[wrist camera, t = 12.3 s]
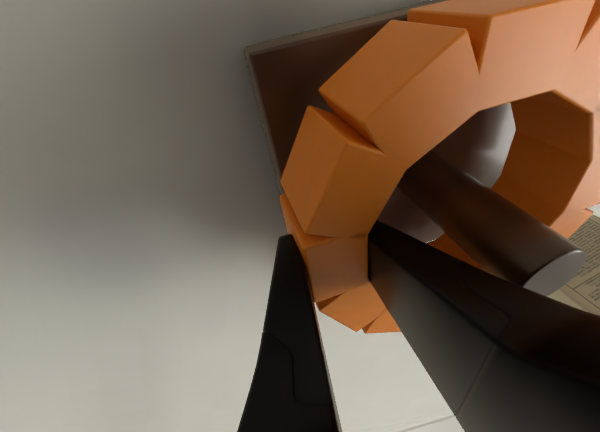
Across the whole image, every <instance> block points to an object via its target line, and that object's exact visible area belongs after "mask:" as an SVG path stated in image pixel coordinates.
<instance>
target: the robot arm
mask: <svg viewBox="0 0 600 432" xmlns="http://www.w3.org/2000/svg"><path fill="white" fill-rule="evenodd" d="M368 278H369V280H370V283H371V284H372V286H373V287H374V289H375V291H376V292H377V294H378V295H379V297H380V298H381V300H382V302H383V303H384V305H385V306H386V308H387V309H388V311H389V313H390V314H391V316H392V317H393V319H394V320H395V322H396V324H397V325H398V327H399V328H400V330H401V332H402V333H403V335H404V336H405V338H406V339H407V341H408V343H409V344H410V346H411V347H412V349H413V350H414V352H415V354H416V355H417V357H418V358H419V360H420V361H421V363H422V365H423V366H424V368H425V369H426V371H427V372H428V374H429V376H430V377H431V379H432V380H433V382H434V383H435V385H436V387H437V388H438V390H439V391H440V393H441V394H442V396H443V398H444V399H445V401H446V402H447V404H448V405H449V407H450V409H451V410H452V412H453V413H454V415H455V416H456V418H457V420H458V421H459V423H460V425H461V426H462V428H463V429H464V431H465V432H600V315H596V314H593V313H590V312H586V311H583V310H580V309H578V308H575V307H572V306H570V305H567V304H565V303H562V302H560V301H557V300H554V299H552V298H549V297H547V296H544V295H542V294H539V293H536V292H534V291H531V290H529V289H526V288H524V287H521V286H518V285H516V284H514V283H511V282H509V281H506V280H504V279H501V278H499V277H497V276H494V275H492V274H490V273H488V272H485V271H483V270H481V269H479V268H477V267H474V266H472V265H470V264H468V263H466V262H464V261H460V260H459V259H458V258H455V257H453V256H451V255H449V254H447V253H445V252H443V251H441V250H439V249H437V248H435V247H433V246H431V245H428V244H426V243H424V242H422V241H420V240H418V239H416V238H414V237H412V236H410V235H408V234H406V233H403V232H401V231H399V230H397V229H395V228H393V227H391V226H389V225H387V224H385V223H383V222H381V221H378V220H376V222H375V223H374V225H373V227H372V229H371V230H370V232H369V234H368ZM263 331H264V332H263V333H262V339H261V345H260V350H259V355H258V360H257V364H256V368H255V372H254V376H253V380H252V383H251V387H250V391H249V394H248V397H247V401H246V404H245V407H244V411H243V414H242V418H241V421H240V424H239V428H238V431H237V432H342V429H341V424H340V420H339V415H338V411H337V406H336V402H335V397H334V393H333V388H332V383H331V379H330V374H329V370H328V365H327V361H326V356H325V352H324V347H323V343H322V338H321V333H320V329H319V324H318V320H317V315H316V311H315V306H314V302H313V298H312V294H311V289H310V285H309V281H308V277H307V273H306V268H305V264H304V261H303V258H302V255H301V253H300V251H299V249H298V247H297V244H296V242H295V240H294V238H293V236H292V234H287V235H284V236H281V237H279V239H278V245H277V251H276V257H275V263H274V269H273V275H272V281H271V287H270V292H269V298H268V304H267V310H266V316H265V322H264V328H263Z"/></svg>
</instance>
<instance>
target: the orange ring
mask: <svg viewBox="0 0 600 432" xmlns="http://www.w3.org/2000/svg"><path fill="white" fill-rule="evenodd" d="M318 90H319V93H320V94H321V96H322V97H323V98H324V100H325V101H326V102H327V104H328V105H329V107H330V108H331V109H332V111H333V112H334V113H332V112H329V111H326V110H323V109H320V108H317V107H314V106H311V105H310V106H308V107H307V109H306V112H305V114H304V117H303V120H302V123H301V125H300V128H299V131H298V134H297V136H296V139H295V142H294V145H293V147H292V150H291V153H290V156H289V158H288V161H287V164H286V167H285V169H284V172H283V175H282V178H281V180H280V182H281V185H282V187H283V189H284V191H285V193H283V194H281V195H280V197H279V198H280V202H281V207H282V211H283V215H284V219H285V223H286V228H287V232H288V234H292V236H293V238H294V240H295V242H296V244H297V247H298V249H299V251H300V253H301V255H302V258H303V261H304V264H305V268H306V273H307V277H308V281H309V285H310V289H311V294H312V298H313V302H314V303H316V304H317V307H318V309H319V311H320V312H322V313H324V314H326V315H327V316H329V317H331V318H333V319H335V320H336V321H338V322H340V323H342V324H343V325H345V326H347V327H349V328H351V329H352V330H354V331H356V332H357V331H359V330H360V329H363V331H364V333H383V332H401V330H400V328H399V327H398V325H397V324H396V322H395V320H394V319H393V317H392V316H391V314H390V313H389V311H388V309H387V308H386V306H385V305H384V303H383V302H382V300H381V298H380V297H379V295H378V294H377V292H376V291H375V289H374V287H373V286H372V284H371V283H370V280H369V278H368V234H369V232H370V230H371V229H372V227H373V225H374V223H375V222H376V220H377V218H378V217H379V215H380V213H381V212H382V210H383V208H384V206H385V205H386V203H387V201H388V200H389V198H390V196H391V195H392V193H393V191H394V190H395V188H396V186H397V184H398V183H399V181H400V179H401V178H402V176H403V174H404V173H405V171H406V170H407V169H408V168H409V167H410V166H412V165H413V164H414V163H415V162H417V161H418V160H419V159H420V158H421V157H423V156H424V155H425V154H426V153H428V152H429V151H430V150H431V149H433V148H434V147H435V146H436V145H437V144H439V143H440V142H441V141H442V140H444V139H445V138H446V137H447V136H449V135H450V134H451V133H452V132H453V131H455V130H456V129H457V128H458V127H460V126H461V125H462V124H463V123H465V122H466V121H467V120H468V119H469V118H471V117H472V116H473V115H474V114H476V113H477V112H478V111H482V110H485V109H489V108H492V107H496V106H499V105H503V104H506V103H510V104H511V108H512V113H513V118H514V122H515V127H516V131H515V134H514V137H513V140H512V143H511V146H510V149H509V152H508V155H507V158H506V161H505V164H504V167H503V170H502V173H501V176H500V177H499V178H498V180H497V181H496V182H495V184H494V185H493V186H492V187H491V189H492V190H493V191H495V192H496V193H498V194H500V195H501V196H503V197H504V198H506V199H507V200H509V201H510V202H512V203H513V204H515V205H516V206H518V207H519V208H521V209H522V210H524V211H525V212H527V213H529V214H530V215H532V216H533V217H535V218H536V219H538V220H539V221H541V222H542V223H544V224H545V225H547V226H548V227H550V228H551V229H553V230H555V231H556V232H558V233H559V234H561V235H562V236H564V237H565V238H567V239H568V238H569V237H570V236H571V235H572V234H573V233H574V232H575V231H576V230H577V229H578V228H579V227H580V226H581V225H582V224H583V223H584V222H585V221H586V220H587V219H588V218H589V217H590V216H592V215H593V211H591V210H589V209H587V208H588V207H591V206H594V205H597V204H599V203H600V0H448V1H444V2H439V3H435V4H430V5H426V6H421V7H417V8H412V9H410V10H408V15H407V21H399V20H390V21H389V22H388V23H387V24H386V25H385V26H384V27H383V28H382V29H381V30H380V31H379V32H378V33H377V34H376V35H375V36H374V37H372V38H371V39H370V40H369V41H368V42H367V43H366V44H365V45H364V46H363V47H362V48H361V49H360V50H359V51H358V52H357V53H356V54H355V55H354V56H352V57H351V58H350V59H349V60H348V61H347V62H346V63H345V64H344V65H343V66H342V67H341V68H340V69H339V70H338V71H337V72H336V73H335V74H334V75H332V76H331V77H330V78H329V79H328V80H327V81H326V82H325V83H324V84H323V85H322V86H321V87H320V88H319V89H318ZM427 244H428V245H431V246H433V247H435V248H437V249H439V250H441V251H443V252H445V253H447V254H449V255H451V256H453V257H455V258H458V259H459V260H460V261H464V262H466V263H468V264H470V265H472V266H474V267H477V268H479V269H481V270H483V269H482V268H481V267H480V266H479V265H478V264H477V263H476V262H475V261H474V260H473V259H472V258H471V257H470V256H469V255H468V254H466V253H465V252H464V251H463V250H462V249H461V248H460V247H459V246H458V245H457V244H456V243H455V242H454V241H453V240H452V239H451V238H450V237H449V236H448V235H446V234H445V233H444V234H443V235H442V236H440V237H439V238H437V239H436V240H435V241H432V242H429V243H427ZM483 271H484V270H483Z"/></svg>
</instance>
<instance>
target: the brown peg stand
mask: <svg viewBox="0 0 600 432" xmlns="http://www.w3.org/2000/svg"><path fill="white" fill-rule="evenodd" d="M444 1H448V0H435V1H430V2H426V3H422V4H418V5H414V6H410V7H406V8H402V9H398V10H394V11H390V12H385V13H381V14H377V15H373V16H369V17H365V18H361V19H357V20H353V21H349V22H344V23H340V24H336V25H332V26H328V27H324V28H320V29H316V30H312V31H308V32H304V33H299V34H295V35H291V36H287V37H283V38H279V39H275V40H271V41H267V42H263V43H259V44H254V45H250V46H246V47H245V48H244V53H245V57H246V60H247V64H248V68H249V72H250V76H251V80H252V84H253V88H254V92H255V95H256V99H257V103H258V107H259V111H260V115H261V119H262V123H263V126H264V130H265V134H266V138H267V142H268V146H269V150H270V154H271V158H272V161H273V165H274V169H275V173H276V177H277V181H278V185H279V189H280V193H281V194H283V193H285V191H284V189H283V187H282V185H281V182H280V180H281V178H282V175H283V172H284V169H285V167H286V164H287V161H288V158H289V156H290V153H291V150H292V147H293V145H294V142H295V139H296V136H297V134H298V131H299V128H300V125H301V123H302V120H303V117H304V114H305V112H306V109H307V107H308V106H310V105H311V106H314V107H317V108H320V109H323V110H326V111H329V112H332V113H334V112H333V111H332V109H331V108H330V107H329V105H328V104H327V102H326V101H325V100H324V98H323V97H322V96H321V94H320V93H319V90H318V89H319V88H320V87H321V86H322V85H323V84H324V83H325V82H326V81H327V80H328V79H329V78H330V77H331V76H332V75H334V74H335V73H336V72H337V71H338V70H339V69H340V68H341V67H342V66H343V65H344V64H345V63H346V62H347V61H348V60H349V59H350V58H351V57H352V56H354V55H355V54H356V53H357V52H358V51H359V50H360V49H361V48H362V47H363V46H364V45H365V44H366V43H367V42H368V41H369V40H370V39H371V38H372V37H374V36H375V35H376V34H377V33H378V32H379V31H380V30H381V29H382V28H383V27H384V26H385V25H386V24H387V23H388V22H389V21H390V20H399V21H407V15H408V10H410V9H412V8H417V7H421V6H426V5H430V4H435V3H439V2H444ZM515 131H516V127H515V122H514V118H513V113H512V108H511V104H510V103H506V104H503V105H499V106H496V107H492V108H489V109H485V110H482V111H478V112H477V113H476V114H474V115H473V116H472V117H471V118H469V119H468V120H467V121H466V122H465V123H463V124H462V125H461V126H460V127H458V128H457V129H456V130H455V131H453V132H452V133H451V134H450V135H449V136H447V137H446V138H445V139H444V140H442V141H441V142H440V143H439V144H437V145H436V146H435V147H434V148H433V149H431V150H430V151H429V152H428V153H426V154H425V155H424V156H423V157H421V158H420V159H419V160H418V161H417V162H415V163H414V164H413V165H412V166H410V167H409V168H408V169H407V170H406V171H405V173H404V174H403V176H402V178H401V179H400V181H399V183H398V184H397V186H396V188H395V190H394V191H393V193H392V195H391V196H390V198H389V200H388V201H387V203H386V205H385V206H384V208H383V210H382V212H381V213H380V215H379V217H378V218H377V220H378V221H381V222H383V223H385V224H387V225H389V226H391V227H393V228H395V229H397V230H399V231H401V232H403V233H406V234H408V235H410V236H412V237H414V238H416V239H418V240H420V241H422V242H424V243H426V242H428V241H431V240H434V239H437V238H439V237H440V236H442V235H443V234H444V233H445V234H446V235H448V236H449V237H450V238H451V239H452V240H453V241H454V242H455V243H456V244H457V245H458V246H459V247H460V248H461V249H462V250H463V251H464V252H465V253H466V254H468V255H469V256H470V257H471V258H472V259H473V260H474V261H475V262H476V263H477V264H478V265H479V266H480V267H481V268H482V269H483V270H484V271H485V272H488V273H490V274H492V275H494V276H497V277H499V278H501V279H504V280H506V281H509V282H511V283H514V284H516V285H518V286H521V287H524V288H526V289H529V290H531V291H534V292H536V293H539V294H542V295H544V296H548V295H550V294H552V293H554V292H555V291H557V290H558V289H560V288H561V287H563V286H564V285H565V284H567V283H568V282H569V281H570V280H571V279H572V278H573V277H574V276H575V275H576V274H577V273H578V272H579V271H580V269H581V268H582V267H583V265H584V263H585V261H586V258H587V254H586V252H585V251H584V249H582V248H580V247H579V246H577V245H576V244H574V243H573V242H571V241H570V240H568V239H567V238H565V237H564V236H562V235H561V234H559V233H558V232H556V231H555V230H553V229H551V228H550V227H548V226H547V225H545V224H544V223H542V222H541V221H539V220H538V219H536V218H535V217H533V216H532V215H530V214H529V213H527V212H525V211H524V210H522V209H521V208H519V207H518V206H516V205H515V204H513V203H512V202H510V201H509V200H507V199H506V198H504V197H503V196H501V195H500V194H498V193H496V192H495V191H493V190H492V189H491V187H492V186H493V185H494V184H495V182H496V181H497V180H498V178H499V177H500V176H501V173H502V170H503V167H504V164H505V161H506V158H507V155H508V152H509V149H510V146H511V143H512V140H513V137H514V134H515Z"/></svg>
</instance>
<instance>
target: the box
mask: <svg viewBox="0 0 600 432" xmlns="http://www.w3.org/2000/svg"><path fill="white" fill-rule="evenodd" d="M568 240H570V241H571V242H573V243H574V244H576V245H577V246H579V247H580V248H582V249H584V251H585V252H586V254H587V258H586V261H585V263H584V265H583V267H582V268H581V269H580V271H579V272H578V273H577V274H576V275H575V276H574V277H573V278H572V279H571V280H570V281H569V282H568V283H567V284H565V285H564V286H563V287H561V288H560V289H558V290H557V291H555V292H554V293H552V294H550V295H548V296H547V297H549V298H552V299H554V300H557V301H560V302H562V303H565V304H567V305H570V306H572V307H575V308H578V309H580V310H583V311H586V312H590V313H593V314H596V315H600V218H599V217H597V216H595V215H592V216H590V217H589V218H588V219H587V220H586V221H585V222H584V223H583V224H582V225H581V226H580V227H579V228H578V229H577V230H576V231H575V232H574V233H573V234H572V235H571V236H570V237H569V238H568Z"/></svg>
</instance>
